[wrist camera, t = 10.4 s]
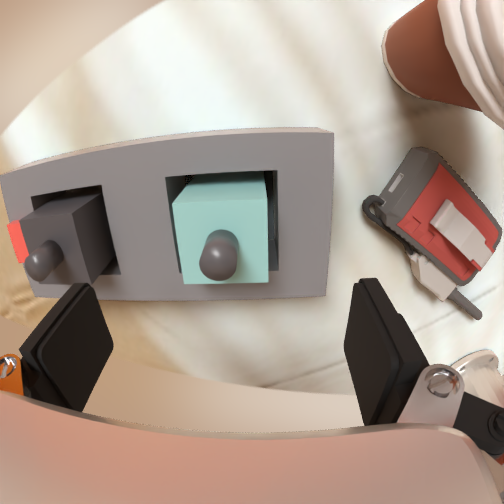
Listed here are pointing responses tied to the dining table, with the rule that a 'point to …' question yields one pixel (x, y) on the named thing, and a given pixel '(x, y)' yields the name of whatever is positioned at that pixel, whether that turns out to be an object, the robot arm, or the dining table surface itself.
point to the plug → (223, 228)
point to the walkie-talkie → (437, 224)
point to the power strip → (167, 214)
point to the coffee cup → (450, 54)
